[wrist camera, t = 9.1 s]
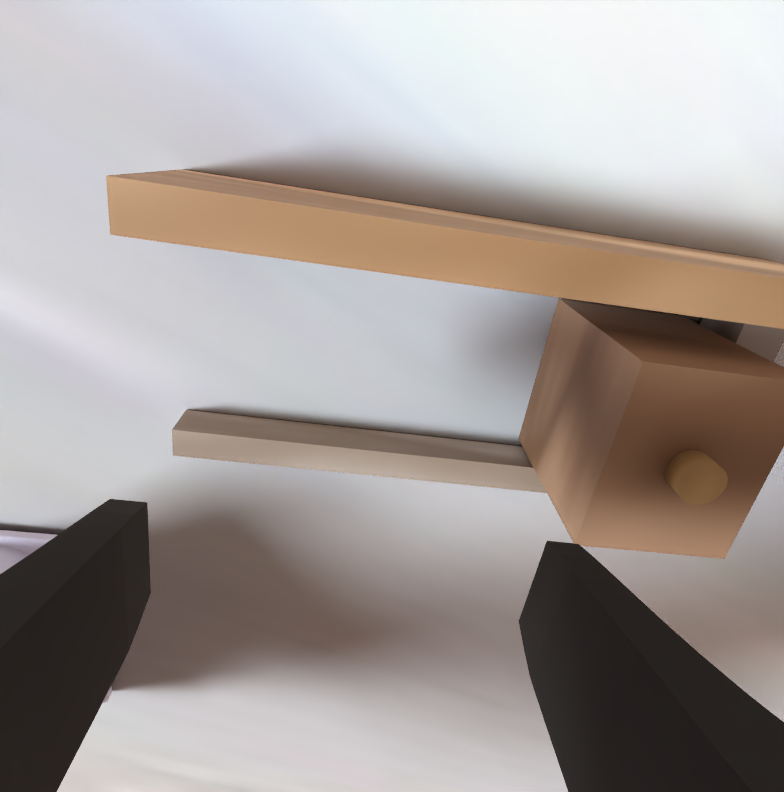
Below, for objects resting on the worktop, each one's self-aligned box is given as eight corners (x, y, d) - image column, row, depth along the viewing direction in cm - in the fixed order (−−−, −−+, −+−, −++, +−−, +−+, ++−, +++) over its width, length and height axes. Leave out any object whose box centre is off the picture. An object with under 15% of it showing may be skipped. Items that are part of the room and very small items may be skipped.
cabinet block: (628, 451, 20) (740, 576, 14) (518, 438, 20) (584, 562, 14) (681, 315, 18) (839, 396, 12) (558, 297, 18) (657, 372, 12)
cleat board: (670, 484, 21) (753, 574, 17) (186, 434, 19) (131, 520, 15) (769, 260, 17) (911, 297, 13) (182, 169, 15) (106, 175, 11)
